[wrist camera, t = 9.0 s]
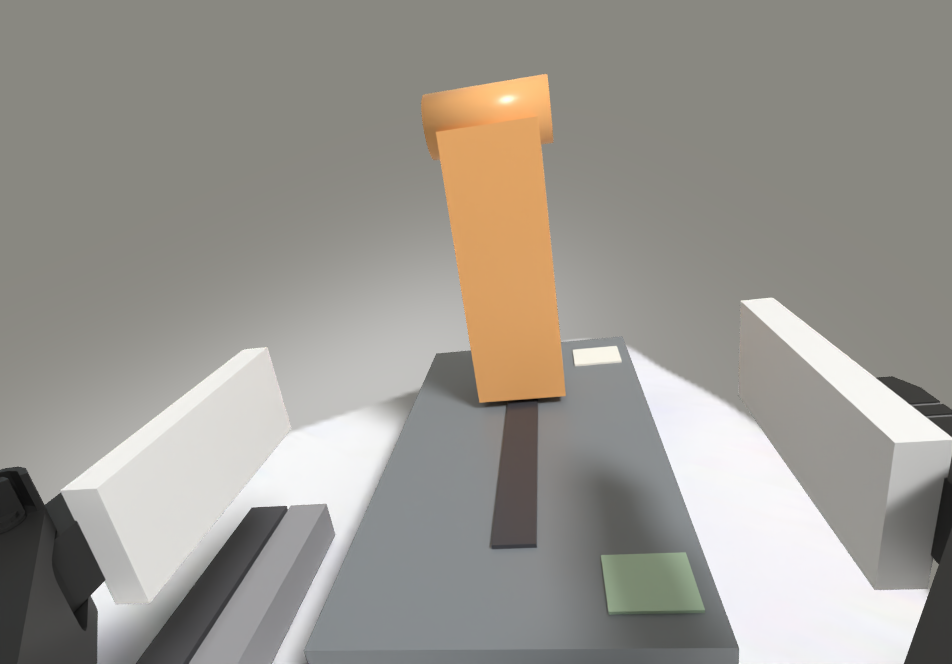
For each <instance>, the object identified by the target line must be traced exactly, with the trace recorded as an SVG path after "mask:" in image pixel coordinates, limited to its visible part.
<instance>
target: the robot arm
mask: <svg viewBox="0 0 952 664" xmlns="http://www.w3.org/2000/svg"><path fill="white" fill-rule="evenodd" d="M740 308H741V309H740V350H739V395H738V396H739V398H740V399H741V401H742V402H743V404H744V405H745V406H746V408H747V409H748V411H749V412H750V413H751V415H752V416H753V418H754V419H755V421H756V422H757V423H758V425H759V426H760V428H761V429H762V431H763V432H764V433H765V435H766V436H767V438H768V439H769V440H770V442H771V443H772V445H773V446H774V448H775V449H776V450H777V452H778V453H779V455H780V456H781V458H782V459H783V460H784V462H785V463H786V465H787V466H788V467H789V469H790V470H791V472H792V473H793V475H794V476H795V477H796V479H797V480H798V482H799V483H800V485H801V486H802V487H803V489H804V490H805V492H806V493H807V494H808V496H809V497H810V499H811V500H812V502H813V503H814V504H815V506H816V507H817V509H818V510H819V512H820V513H821V514H822V516H823V517H824V519H825V520H826V521H827V523H828V524H829V526H830V527H831V529H832V530H833V531H834V533H835V534H836V536H837V537H838V539H839V540H840V541H841V543H842V544H843V546H844V547H845V548H846V550H847V551H848V553H849V554H850V556H851V557H852V558H853V560H854V561H855V563H856V564H857V566H858V567H859V568H860V570H861V571H862V573H863V574H864V575H865V577H866V578H867V580H868V581H869V583H870V584H871V585H872V587H873V588H874V590H897V589H928V584H929V578H930V573H931V567H932V562H933V558H934V559H935V561H936V562H937V563H938V564H939V566H938V569H937V572H936V575H935V577H934V580H933V583H932V586H931V589H930V592H929V594H928V597H927V600H926V603H925V606H924V609H923V611H922V614H921V617H920V620H919V623H918V625H917V628H916V631H915V634H914V637H913V640H912V642H911V645H910V648H909V651H908V654H907V656H906V659H905V662H904V664H952V410H951V409H950V408H948V407H947V406H946V405H944V404H940V401H939V400H937V399H936V398H934V397H933V396H931V395H930V394H929V393H927V392H926V391H925V390H923V389H922V388H920V387H917V386H915V385H913V384H910V383H907V382H905V381H903V380H900V379H897V378H895V377H879V378H875V377H874V376H873V375H871V374H870V373H869V372H867V371H866V370H865V369H864V368H862V367H861V366H860V365H858V364H857V363H856V362H855V361H853V360H852V359H851V358H849V357H848V356H847V355H845V354H844V353H843V352H842V351H840V350H839V349H838V348H837V347H835V346H834V345H833V344H831V343H830V342H829V341H828V340H826V339H825V338H824V337H822V336H821V335H820V334H819V333H817V332H816V331H815V330H813V329H812V328H811V327H810V326H808V325H807V324H806V323H805V322H803V321H802V320H801V319H799V318H798V317H797V316H795V315H794V314H793V313H791V312H790V311H789V310H788V309H787V308H785V307H784V306H783V305H781V304H780V303H779V302H777V301H776V300H775V299H774V298H764V299H753V300H743V301H741V307H740ZM291 429H292V428H291V425H290V421H289V418H288V415H287V412H286V408H285V405H284V401H283V398H282V395H281V391H280V388H279V385H278V381H277V378H276V375H275V371H274V368H273V365H272V362H271V358H270V355H269V352H268V348H267V347H264V348H253V349H243V350H242V351H241V352H239V353H238V354H237V355H236V356H234V357H233V358H232V359H230V360H229V361H228V362H226V363H225V364H224V365H223V366H221V367H220V368H219V369H217V370H216V371H215V372H213V373H212V374H211V375H210V376H208V377H207V378H206V379H205V380H203V381H202V382H200V383H199V384H198V385H197V386H195V387H194V388H193V389H192V390H190V391H189V392H187V393H186V394H185V395H184V396H182V397H181V398H180V399H178V400H177V401H176V402H175V403H174V404H172V405H171V406H169V407H168V408H167V409H166V410H164V411H163V412H162V413H160V414H159V415H158V416H156V417H155V418H154V419H152V420H151V421H150V422H149V423H147V424H146V425H145V426H143V427H142V428H141V429H140V430H138V431H137V432H136V433H135V434H133V435H132V436H130V437H129V438H128V439H127V440H125V441H124V442H123V443H121V444H120V445H119V446H117V447H116V448H115V449H114V450H112V451H111V452H110V453H108V454H107V455H106V456H104V457H103V458H102V459H101V460H99V461H98V462H97V463H95V464H94V465H93V466H92V467H90V468H89V469H88V470H86V471H85V472H84V473H82V474H81V475H80V476H78V477H77V478H76V479H75V480H73V481H72V482H71V483H69V484H68V485H67V486H66V487H64V488H63V489H62V490H60V491H61V493H60V494H58V495H57V496H56V497H55V498H53V499H52V500H51V501H49V502H48V503H47V504H45V505H44V503H43V501H42V499H41V497H40V495H39V494H38V491H37V490H36V487H35V485H34V484H33V482H32V480H31V478H30V476H29V474H28V472H27V470H26V468H22V467H13V468H5V469H2V470H0V664H97V620H98V611H97V608H96V606H95V604H94V602H93V600H92V598H91V596H90V595H91V594H92V593H93V592H94V591H95V590H96V589H97V588H98V587H99V586H100V585H101V584H102V583H103V582H104V581H105V583H106V585H107V587H108V589H109V591H110V593H111V595H112V598H113V600H114V602H115V604H150V603H151V601H152V600H153V599H154V598H155V596H156V595H157V594H158V593H159V592H160V590H161V589H162V588H163V587H164V585H165V584H166V583H167V582H168V580H169V579H170V578H171V577H172V576H173V574H174V573H175V572H176V571H177V569H178V568H179V567H180V566H181V564H182V563H183V562H184V561H185V559H186V558H187V557H188V556H189V555H190V553H191V552H192V551H193V550H194V548H195V547H196V546H197V545H198V543H199V542H200V541H201V540H202V539H203V537H204V536H205V535H206V534H207V532H208V531H209V530H210V529H211V527H212V526H213V525H214V524H215V522H216V521H217V520H218V519H219V518H220V516H221V515H222V514H223V513H224V511H225V510H226V509H227V508H228V506H229V505H230V504H231V503H232V502H233V500H234V499H235V498H236V497H237V495H238V494H239V493H240V492H241V490H242V489H243V488H244V487H245V485H246V484H247V483H248V482H249V481H250V479H251V478H252V477H253V476H254V474H255V473H256V472H257V471H258V469H259V468H260V467H261V466H262V465H263V463H264V462H265V461H266V460H267V458H268V457H269V456H270V455H271V453H272V452H273V451H274V450H275V449H276V447H277V446H278V445H279V444H280V442H281V441H282V440H283V439H284V437H285V436H286V435H287V434H288V432H289V431H290V430H291Z"/></svg>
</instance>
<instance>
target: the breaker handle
mask: <svg viewBox="0 0 952 664" xmlns="http://www.w3.org/2000/svg"><path fill="white" fill-rule="evenodd" d="M421 109H422V121H423V128H424V134H425V138H426V142H427V146H428V149H429V152H430V154H431V157H432V159H433V160H441V167H442V173H443V179H444V186H445V191H446V198H447V204H448V211H449V217H450V223H451V229H452V235H453V241H454V248H455V254H456V260H457V266H458V273H459V279H460V285H461V291H462V297H463V304H464V310H465V316H466V322H467V328H468V335H469V341H470V346H471V353H472V360H473V366H474V372H475V378H476V384H477V391H478V397H479V403H482V402H495V401H508V400H521V399H534V398H547V397H560V396H566V392H565V381H564V370H563V360H562V350H561V339H560V330H559V321H558V320H559V319H558V309H557V299H556V290H555V279H554V269H553V259H552V249H551V238H550V229H549V219H548V208H547V199H546V188H545V178H544V168H543V158H542V149H541V144H548V143H553V130H552V119H551V107H550V96H549V86H548V77H547V74H543V75H537V76H531V77H525V78H519V79H513V80H508V81H502V82H495V83H489V84H483V85H477V86H471V87H466V88H460V89H454V90H448V91H442V92H436V93H430V94H424V95H423V96H422V102H421Z"/></svg>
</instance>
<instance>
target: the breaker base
mask: <svg viewBox="0 0 952 664" xmlns="http://www.w3.org/2000/svg"><path fill="white" fill-rule="evenodd" d="M561 350H562V360H563V370H564V381H565V392H566V396H560V397H547V398H534V399H521V400H508V401H495V402H482V403H479V397H478V391H477V384H476V378H475V372H474V366H473V360H472V353H471V351H461V352H450V353H440V354H436V356H435V358H434V360H433V362H432V365H431V367H430V369H429V372H428V374H427V376H426V378H425V381H424V383H423V385H422V387H421V389H420V392H419V394H418V396H417V398H416V401H415V403H414V405H413V407H412V410H411V412H410V414H409V416H408V418H407V421H406V423H405V425H404V427H403V430H402V432H401V434H400V436H399V439H398V441H397V443H396V445H395V448H394V450H393V452H392V454H391V457H390V459H389V461H388V463H387V466H386V468H385V470H384V472H383V475H382V477H381V479H380V481H379V484H378V486H377V488H376V490H375V493H374V495H373V497H372V499H371V501H370V504H369V506H368V508H367V510H366V513H365V515H364V517H363V519H362V522H361V524H360V526H359V528H358V531H357V533H356V535H355V537H354V540H353V542H352V544H351V546H350V549H349V551H348V553H347V555H346V558H345V560H344V562H343V564H342V567H341V569H340V571H339V573H338V576H337V578H336V580H335V582H334V585H333V587H332V589H331V591H330V593H329V596H328V598H327V600H326V602H325V605H324V607H323V609H322V611H321V614H320V616H319V618H318V620H317V623H316V625H315V627H314V629H313V632H312V634H311V636H310V638H309V641H308V643H307V645H306V647H305V650H304V653H305V655H306V658H307V661H308V664H738V663H739V647H738V644H737V641H736V639H735V636H734V633H733V631H732V628H731V625H730V623H729V620H728V617H727V615H726V612H725V609H724V607H723V604H722V601H721V599H720V596H719V593H718V591H717V588H716V585H715V583H714V580H713V577H712V575H711V572H710V569H709V567H708V564H707V561H706V559H705V556H704V553H703V551H702V548H701V545H700V543H699V540H698V537H697V535H696V532H695V529H694V527H693V524H692V521H691V519H690V516H689V513H688V511H687V508H686V505H685V502H684V500H683V497H682V494H681V492H680V489H679V486H678V484H677V481H676V478H675V476H674V473H673V470H672V468H671V465H670V462H669V460H668V457H667V454H666V452H665V449H664V446H663V444H662V441H661V438H660V436H659V433H658V430H657V428H656V425H655V422H654V420H653V417H652V414H651V412H650V409H649V406H648V404H647V401H646V398H645V396H644V393H643V390H642V388H641V385H640V382H639V380H638V377H637V374H636V372H635V369H634V366H633V363H632V361H631V358H630V355H629V353H628V350H627V347H626V345H625V342H624V339H623V337H613V338H601V339H590V340H580V341H569V342H561Z"/></svg>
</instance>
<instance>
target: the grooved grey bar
mask: <svg viewBox="0 0 952 664" xmlns="http://www.w3.org/2000/svg"><path fill="white" fill-rule="evenodd" d="M334 536H335V532H334V528H333V525H332V521H331V518H330V514H329V511H328V508H327V504H315V505H295V506H290V508H289V509H287V506H275V507H256V508H251V509H250V511H249V512H248V514H247V515H246V516H245V518H244V519H243V520H242V522H241V523H240V524H239V526H238V527H237V528H236V530H235V531H234V532H233V534H232V535H231V536H230V538H229V539H228V540H227V542H226V543H225V544H224V546H223V547H222V548H221V550H220V551H219V553H218V554H217V555H216V557H215V558H214V559H213V561H212V562H211V563H210V565H209V566H208V567H207V569H206V570H205V571H204V573H203V574H202V575H201V577H200V578H199V579H198V581H197V582H196V583H195V585H194V586H193V587H192V589H191V590H190V591H189V593H188V594H187V596H186V597H185V598H184V600H183V601H182V602H181V604H180V605H179V606H178V608H177V609H176V610H175V612H174V613H173V614H172V616H171V617H170V618H169V620H168V621H167V622H166V624H165V625H164V626H163V628H162V629H161V630H160V632H159V633H158V635H157V636H156V637H155V639H154V640H153V641H152V643H151V644H150V645H149V647H148V648H147V649H146V651H145V652H144V653H143V655H142V656H141V657H140V659H139V660H138V661H137V663H136V664H271V663H272V661H273V659H274V657H275V655H276V653H277V651H278V649H279V647H280V645H281V643H282V641H283V639H284V637H285V635H286V633H287V631H288V629H289V627H290V625H291V623H292V621H293V619H294V617H295V615H296V613H297V611H298V609H299V607H300V605H301V603H302V601H303V599H304V597H305V595H306V593H307V591H308V589H309V587H310V585H311V583H312V581H313V579H314V577H315V575H316V572H317V570H318V568H319V566H320V564H321V562H322V560H323V558H324V556H325V554H326V552H327V550H328V548H329V546H330V544H331V542H332V540H333V538H334Z"/></svg>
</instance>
